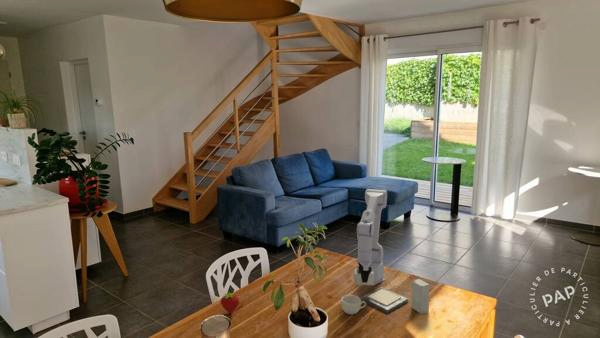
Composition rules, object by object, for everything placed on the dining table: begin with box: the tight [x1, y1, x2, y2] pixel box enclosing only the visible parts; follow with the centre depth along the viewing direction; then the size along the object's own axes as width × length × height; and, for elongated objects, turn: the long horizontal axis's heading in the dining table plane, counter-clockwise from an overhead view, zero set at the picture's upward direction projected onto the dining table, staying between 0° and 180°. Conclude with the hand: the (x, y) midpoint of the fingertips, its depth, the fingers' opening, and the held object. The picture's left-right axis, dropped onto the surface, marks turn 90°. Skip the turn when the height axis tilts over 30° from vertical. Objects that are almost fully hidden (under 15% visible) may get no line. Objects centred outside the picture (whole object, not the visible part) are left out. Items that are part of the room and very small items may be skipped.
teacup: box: [341, 294, 367, 315], centre depth 158 cm, size 10×8×5 cm
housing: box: [353, 268, 375, 286], centre depth 168 cm, size 5×8×6 cm, turn 85°
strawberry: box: [220, 292, 240, 314], centre depth 157 cm, size 6×8×10 cm
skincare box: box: [411, 278, 430, 315], centre depth 158 cm, size 6×4×12 cm
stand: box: [360, 286, 409, 314], centre depth 166 cm, size 14×14×2 cm
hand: (364, 279), depth 169 cm, fingers closed on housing, 5 cm apart
